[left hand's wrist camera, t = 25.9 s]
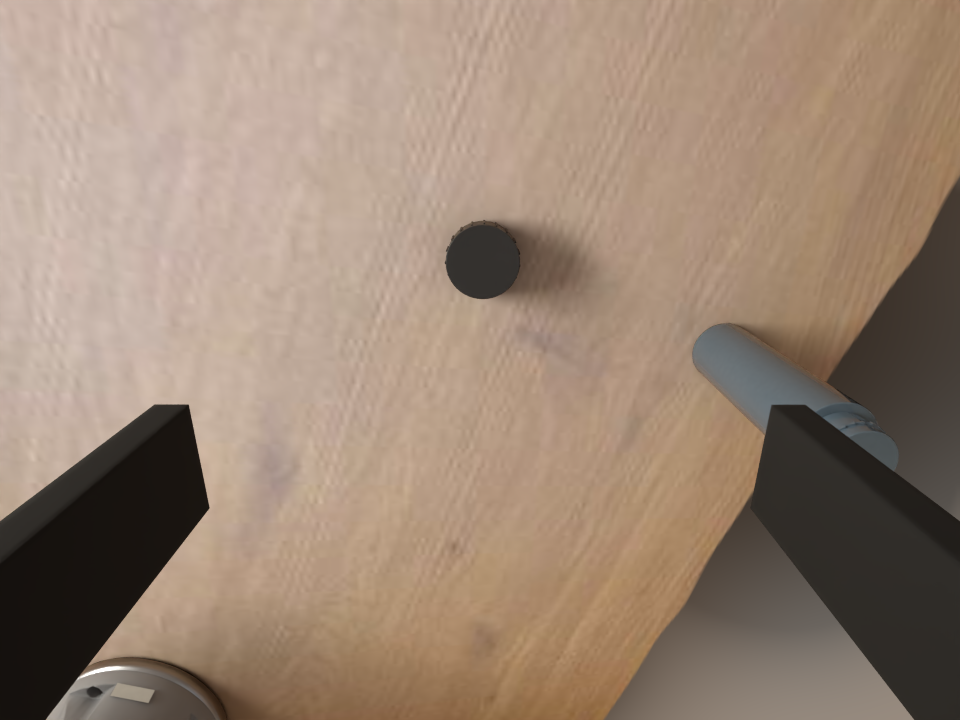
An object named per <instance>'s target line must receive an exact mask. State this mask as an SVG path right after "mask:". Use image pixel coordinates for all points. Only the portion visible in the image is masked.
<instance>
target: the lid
mask: <svg viewBox="0 0 960 720" xmlns="http://www.w3.org/2000/svg"><path fill="white" fill-rule="evenodd" d="M515 243H516V241H515V239H514V238H512V236H511V235H510V234H509V233H508V231H507V229H504V228H503V227H501V226H499V225H498V224H497V223H496V222H495V223H492V222H488V221H485V220H483V221H478V222H471V223H470V224H468V225H466V226H464V227H463V228H462V227H461V228H460V230H459V231H458V232H457V233H456V234H455V236H454V235H453V236H452V239H451V243H450V245H449V246H448V247H447V250H446V252H447V255H446V261H445V264H446V269H447V273H448V276H449V278H450V280H451V282H452V283H453V285H454V286H455V287H456V288H457V289H458V290H459V291H460V292H462V293H463V294H465V295H467V296H469V297H472V298H477V299H489V298H493V297H496V296H498V295H500V294H502V293H504V292H505V291H506V290H507V289H509V288H510V286H511V285H512V284H513V283H514V281H515V279H516V278H517V275H518V272H519V267H520V257H519V255H520V252H519V250H518V249H517V246H516V244H515Z"/></svg>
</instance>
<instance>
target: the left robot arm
mask: <svg viewBox="0 0 960 720" xmlns="http://www.w3.org/2000/svg"><path fill="white" fill-rule="evenodd" d="M208 509H209V503H208V498H207V493H206V488H205V483H204V478H203V473H202V468H201V463H200V459H199V454H198V449H197V444H196V439H195V434H194V429H193V424H192V419H191V414H190V409H189V405H153V406H152V407H151V408H150V409H148V410H147V411H146V412H144V413H143V414H142V415H140V416H139V417H138V418H136V419H135V420H134V421H132V422H131V423H130V424H128V425H127V426H126V427H124V428H123V429H122V430H120V431H119V432H118V433H116V434H115V435H114V436H112V437H111V438H110V439H109V440H107V441H106V442H105V443H103V444H102V445H101V446H99V447H98V448H97V449H95V450H94V451H93V452H91V453H90V454H89V455H87V456H86V457H85V458H83V459H82V460H81V461H79V462H78V463H77V464H75V465H74V466H73V467H71V468H70V469H69V470H67V471H66V472H65V473H64V474H62V475H61V476H60V477H58V478H57V479H56V480H54V481H53V482H52V483H50V484H49V485H48V486H46V487H45V488H44V489H42V490H41V491H40V492H38V493H37V494H36V495H34V496H33V497H32V498H30V499H29V500H28V501H26V502H25V503H24V504H22V505H21V506H20V507H19V508H17V509H16V510H15V511H13V512H12V513H11V514H9V515H8V516H7V517H5V518H4V519H3V520H1V521H0V720H46V719H47V720H227V719H226V715H225V712H224V709H223V707H222V705H221V703H220V702H219V700H218V699H217V697H216V696H215V695H214V694H213V693H212V692H211V691H210V689H209V688H208V687H206V686H205V685H204V684H203V683H202V682H200V681H199V680H198V679H196V678H195V677H193V676H192V675H190V674H188V673H186V672H185V671H183V670H180V669H178V668H176V667H174V666H171V665H168V664H165V663H162V662H158V661H154V660H149V659H142V658H115V659H109V660H104V661H100V662H97V663H94V664H92V665H90V666H88V664H89V663H90V662H91V661H92V659H93V658H94V657H95V655H96V654H97V653H98V651H99V650H100V649H101V648H102V646H103V645H104V644H105V642H106V641H107V640H108V639H109V637H110V636H111V635H112V633H113V632H114V631H115V630H116V628H117V627H118V626H119V624H120V623H121V622H122V620H123V619H124V618H125V617H126V615H127V614H128V613H129V611H130V610H131V609H132V608H133V606H134V605H135V604H136V602H137V601H138V600H139V599H140V597H141V596H142V595H143V593H144V592H145V591H146V589H147V588H148V587H149V586H150V584H151V583H152V582H153V580H154V579H155V578H156V577H157V575H158V574H159V573H160V571H161V570H162V569H163V568H164V566H165V565H166V564H167V562H168V561H169V560H170V558H171V557H172V556H173V555H174V553H175V552H176V551H177V549H178V548H179V547H180V546H181V544H182V543H183V542H184V540H185V539H186V538H187V537H188V535H189V534H190V533H191V531H192V530H193V529H194V527H195V526H196V525H197V524H198V522H199V521H200V520H201V518H202V517H203V516H204V515H205V513H206V512H207V511H208ZM751 509H752V511H753V512H754V513H755V514H756V516H757V517H758V518H759V520H760V521H761V522H762V524H763V525H764V526H765V527H766V529H767V530H768V531H769V533H770V534H771V535H772V536H773V538H774V539H775V540H776V542H777V543H778V544H779V546H780V547H781V548H782V549H783V551H784V552H785V553H786V555H787V556H788V557H789V558H790V560H791V561H792V562H793V564H794V565H795V566H796V568H797V569H798V570H799V571H800V573H801V574H802V575H803V577H804V578H805V579H806V580H807V582H808V583H809V584H810V586H811V587H812V588H813V589H814V591H815V592H816V593H817V595H818V596H819V597H820V599H821V600H822V601H823V602H824V604H825V605H826V606H827V608H828V609H829V610H830V611H831V613H832V614H833V615H834V617H835V618H836V619H837V620H838V622H839V623H840V624H841V626H842V627H843V628H844V629H845V631H846V632H847V633H848V635H849V636H850V637H851V639H852V640H853V641H854V642H855V644H856V645H857V646H858V648H859V649H860V650H861V651H862V653H863V654H864V655H865V657H866V658H867V659H868V661H869V662H870V663H871V664H872V666H873V667H874V668H875V670H876V671H877V672H878V673H879V675H880V676H881V677H882V679H883V680H884V681H885V682H886V684H887V685H888V686H889V688H890V689H891V690H892V691H893V693H894V694H895V695H896V697H897V698H898V699H899V701H900V702H901V703H902V704H903V706H904V707H905V708H906V710H907V711H908V712H909V713H910V715H911V716H912V717H913V719H914V720H960V521H959V520H957V519H956V518H955V517H953V516H952V515H951V514H949V513H948V512H947V511H945V510H944V509H943V508H941V507H940V506H939V505H938V504H936V503H935V502H934V501H932V500H931V499H930V498H928V497H927V496H926V495H924V494H923V493H922V492H920V491H919V490H918V489H916V488H915V487H914V486H912V485H911V484H910V483H908V482H907V481H906V480H904V479H903V478H902V477H900V476H899V475H898V474H896V473H895V472H894V471H893V470H891V469H890V468H889V467H887V466H886V465H885V464H883V463H882V462H881V461H879V460H878V459H877V458H875V457H874V456H873V455H871V454H870V453H869V452H867V451H866V450H865V449H863V448H862V447H861V446H859V445H858V444H857V443H855V442H854V441H853V440H851V439H850V438H849V437H848V436H846V435H845V434H844V433H842V432H841V431H840V430H838V429H837V428H836V427H834V426H833V425H832V424H830V423H829V422H828V421H826V420H825V419H824V418H822V417H821V416H820V415H818V414H817V413H816V412H814V411H813V410H812V409H810V408H809V407H808V406H807V405H771V409H770V414H769V419H768V424H767V429H766V434H765V439H764V444H763V449H762V454H761V459H760V463H759V468H758V473H757V478H756V483H755V488H754V493H753V498H752V503H751ZM87 666H88V667H87ZM47 717H48V718H47Z"/></svg>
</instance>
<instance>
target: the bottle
mask: <svg viewBox="0 0 960 720" xmlns="http://www.w3.org/2000/svg"><path fill="white" fill-rule="evenodd" d="M692 357H693V362H694V365H695V367H696V369H697V370H698V371H699V372H700V373H701V374H702V375H703V376H704V377H705V378H706V379H707V380H708V381H709V382H710V383H711V384H712V385H713V386H714V387H715V388H716V389H717V390H718V391H719V392H720V393H722V394H723V395H724V396H725V397H726V398H727V399H728V400H729V401H730V402H731V403H732V404H733V405H734V406H735V407H736V408H737V409H738V410H739V411H740V412H741V413H742V414H743V415H744V416H745V417H746V418H747V419H748V420H749V421H750V422H751V423H752V424H753V425H754V426H755V427H757V428H758V429H759V430H760V431H761V432H762V433H763V434H764V435H765V434H766V429H767V424H768V419H769V414H770V409H771V405H807V406H808V407H809V408H810V409H812V410H813V411H814V412H816V413H817V414H818V415H820V416H821V417H822V418H824V419H825V420H826V421H828V422H829V423H830V424H832V425H833V426H834V427H836V428H837V429H838V430H840V431H841V432H842V433H844V434H845V435H846V436H848V437H849V438H850V439H851V440H853V441H854V442H855V443H857V444H858V445H859V446H861V447H862V448H863V449H865V450H866V451H867V452H869V453H870V454H871V455H873V456H874V457H875V458H877V459H878V460H879V461H881V462H882V463H883V464H885V465H886V466H887V467H889V468H890V469H891V470H893V471H894V470H895V469H896V466H897V464H898V460H899V451H898V447H897V445H896V443H895V441H894V440H893V439H892V438H891V437H890V436H888V435H887V434H885V432H884V430H883V429H882V428H881V427H880V426H878V423H877V420H876V419H875V417H874V415H873V414H872V413H871V412H870V411H869V410H868V409H867V408H865V407H864V406H862V405H861V404H859V403H857V402H856V401H854V400H853V399H851V398H850V397H848V396H847V395H845V394H843V393H842V392H840V391H839V390H837V389H836V388H834V387H833V386H831V385H830V384H828V383H826V382H825V381H823V380H822V379H820V378H819V377H817V376H816V375H814V374H813V373H811V372H809V371H808V370H806V369H805V368H803V367H802V366H800V365H799V364H797V363H795V362H794V361H792V360H791V359H789V358H788V357H786V356H785V355H783V354H782V353H780V352H778V351H777V350H775V349H774V348H772V347H771V346H769V345H768V344H766V343H764V342H763V341H761V340H760V339H758V338H757V337H755V336H754V335H752V334H751V333H749V332H747V331H746V330H744V329H743V328H741V327H740V326H737V325H734V324H729V323H725V324H719V325H715V326H713V327H711V328H709V329H707V330H706V331H705V332H703V333H702V334H701V335H700V337H699V338H698V339H697V341H696V343H695V345H694V348H693V355H692Z"/></svg>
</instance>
